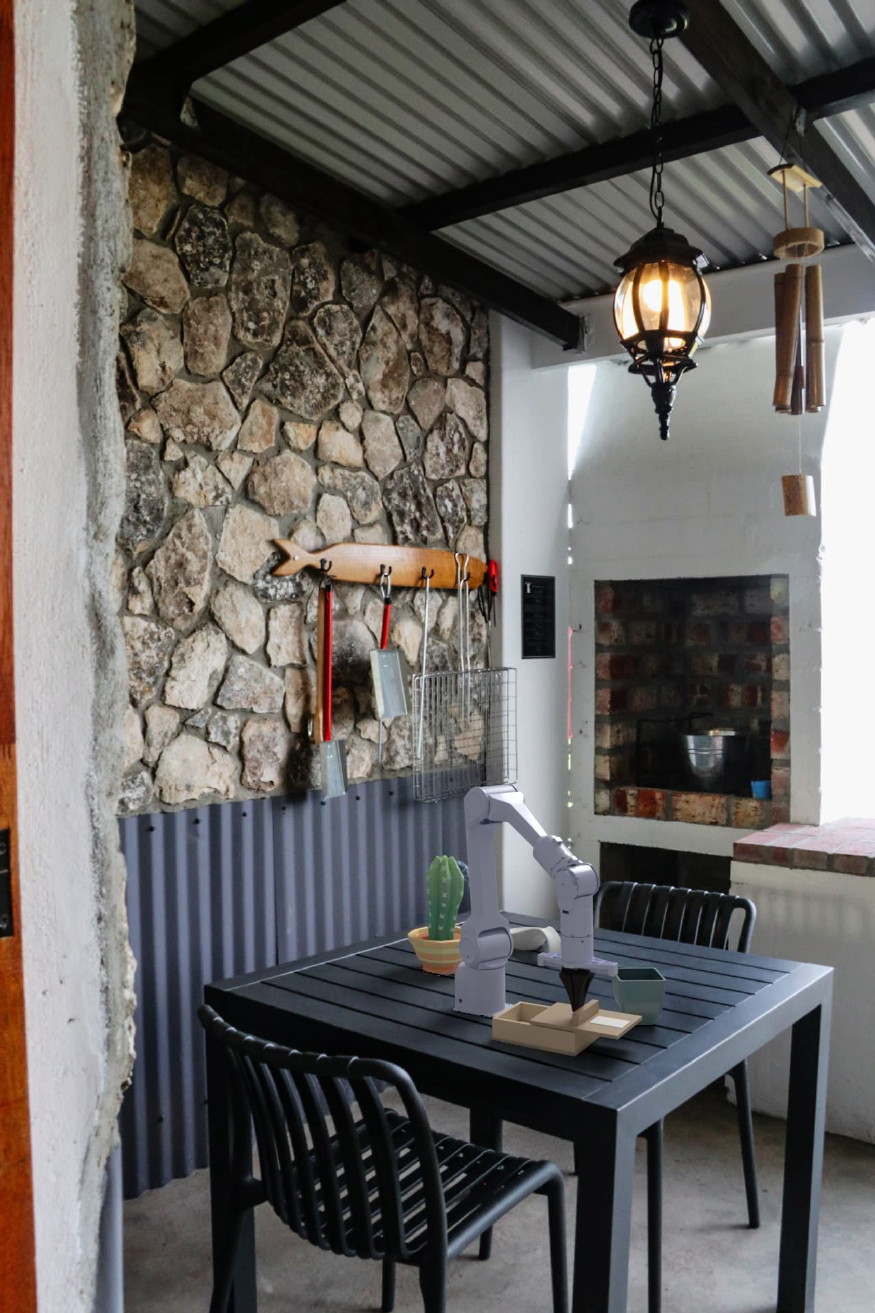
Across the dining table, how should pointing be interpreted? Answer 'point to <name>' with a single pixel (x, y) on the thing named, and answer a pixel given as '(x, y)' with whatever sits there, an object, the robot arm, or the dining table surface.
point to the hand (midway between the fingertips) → (577, 1011)
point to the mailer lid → (587, 1020)
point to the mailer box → (536, 1031)
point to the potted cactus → (441, 916)
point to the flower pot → (639, 993)
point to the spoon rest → (536, 938)
